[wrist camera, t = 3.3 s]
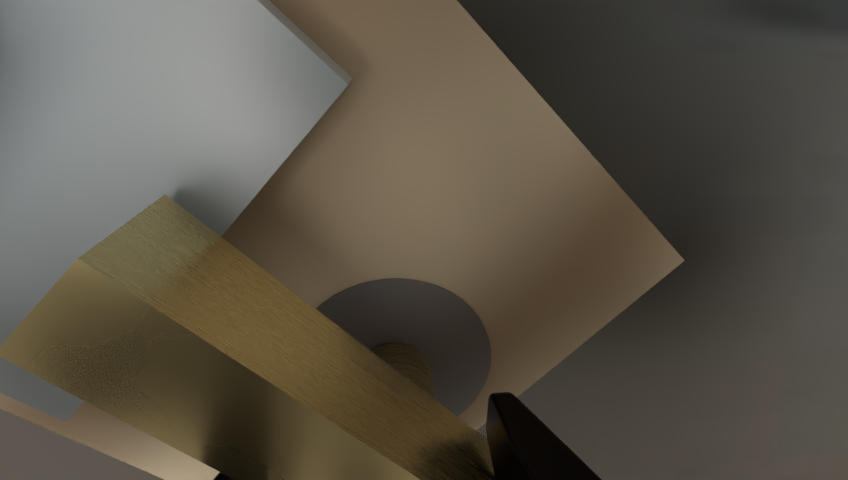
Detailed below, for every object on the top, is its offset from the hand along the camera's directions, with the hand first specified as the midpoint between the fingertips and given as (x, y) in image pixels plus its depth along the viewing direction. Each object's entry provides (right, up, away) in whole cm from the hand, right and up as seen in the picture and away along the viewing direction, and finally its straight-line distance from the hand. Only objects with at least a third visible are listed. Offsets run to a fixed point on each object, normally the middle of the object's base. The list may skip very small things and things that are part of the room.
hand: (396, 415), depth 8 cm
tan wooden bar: (-1, +1, +1) cm, 2 cm away
